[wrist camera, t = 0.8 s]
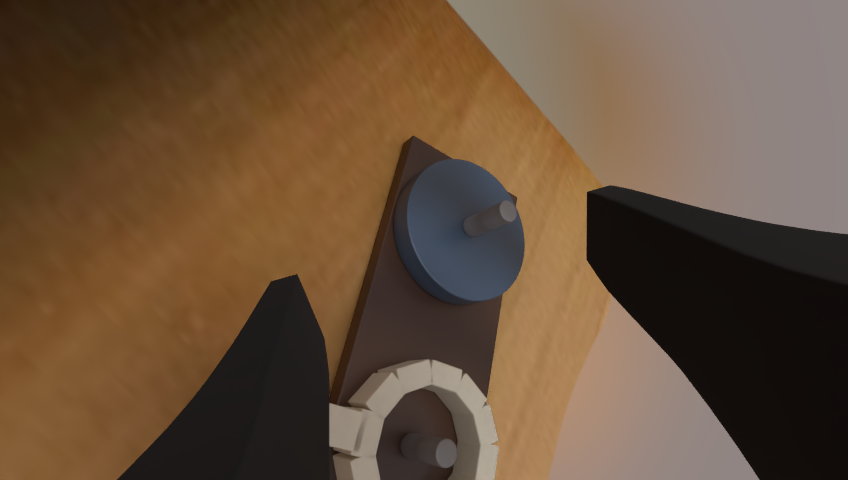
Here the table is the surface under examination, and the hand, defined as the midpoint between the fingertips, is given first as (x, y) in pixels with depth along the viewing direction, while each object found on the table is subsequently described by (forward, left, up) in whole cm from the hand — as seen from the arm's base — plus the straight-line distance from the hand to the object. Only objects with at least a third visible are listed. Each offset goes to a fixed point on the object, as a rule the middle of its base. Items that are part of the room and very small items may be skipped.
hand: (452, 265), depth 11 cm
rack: (+2, -8, -14) cm, 16 cm away
